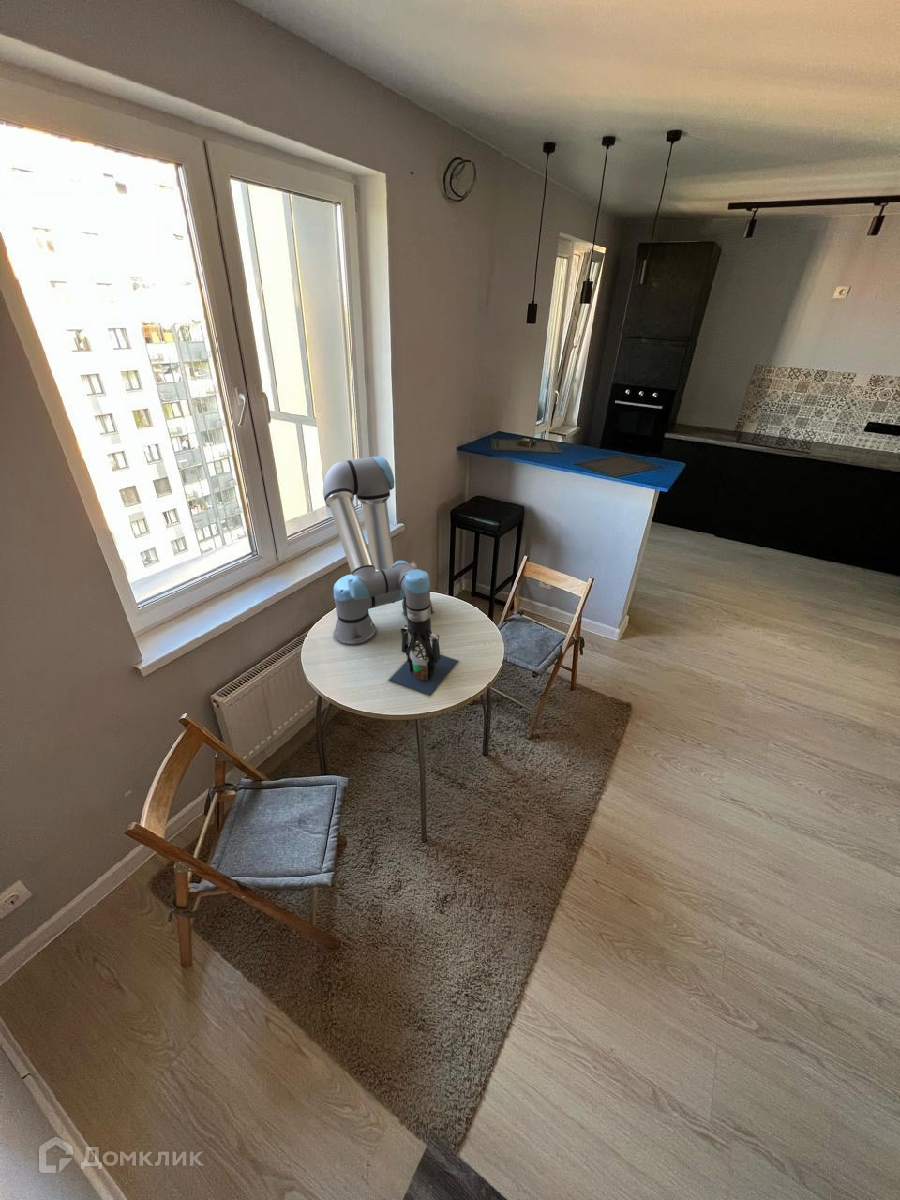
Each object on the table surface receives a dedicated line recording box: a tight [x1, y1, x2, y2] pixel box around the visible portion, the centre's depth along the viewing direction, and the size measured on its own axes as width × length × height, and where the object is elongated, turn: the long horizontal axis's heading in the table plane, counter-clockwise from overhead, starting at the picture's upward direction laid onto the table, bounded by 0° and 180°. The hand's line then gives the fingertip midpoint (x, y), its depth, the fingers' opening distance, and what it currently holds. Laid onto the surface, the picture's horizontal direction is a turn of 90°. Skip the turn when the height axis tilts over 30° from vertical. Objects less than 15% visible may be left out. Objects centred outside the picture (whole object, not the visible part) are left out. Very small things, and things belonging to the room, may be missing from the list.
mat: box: [388, 654, 459, 696], centre depth 170 cm, size 16×20×1 cm
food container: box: [410, 641, 429, 682], centre depth 166 cm, size 12×6×10 cm, turn 178°
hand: (421, 672), depth 169 cm, fingers closed on food container, 6 cm apart
